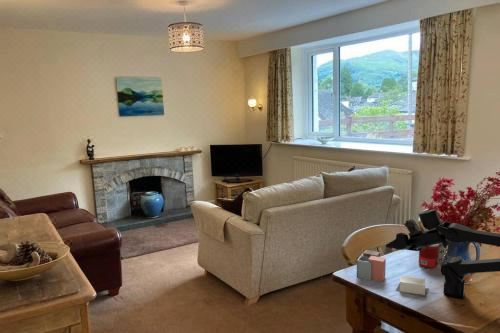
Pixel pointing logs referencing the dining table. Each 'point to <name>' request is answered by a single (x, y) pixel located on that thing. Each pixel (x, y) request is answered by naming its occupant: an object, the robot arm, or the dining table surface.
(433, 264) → the canned food
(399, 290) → the rubber mat
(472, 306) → the dining table surface
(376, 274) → the salmon pink block
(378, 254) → the walnut plug
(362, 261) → the socket block
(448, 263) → the robot arm
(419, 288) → the cream rectangular block
